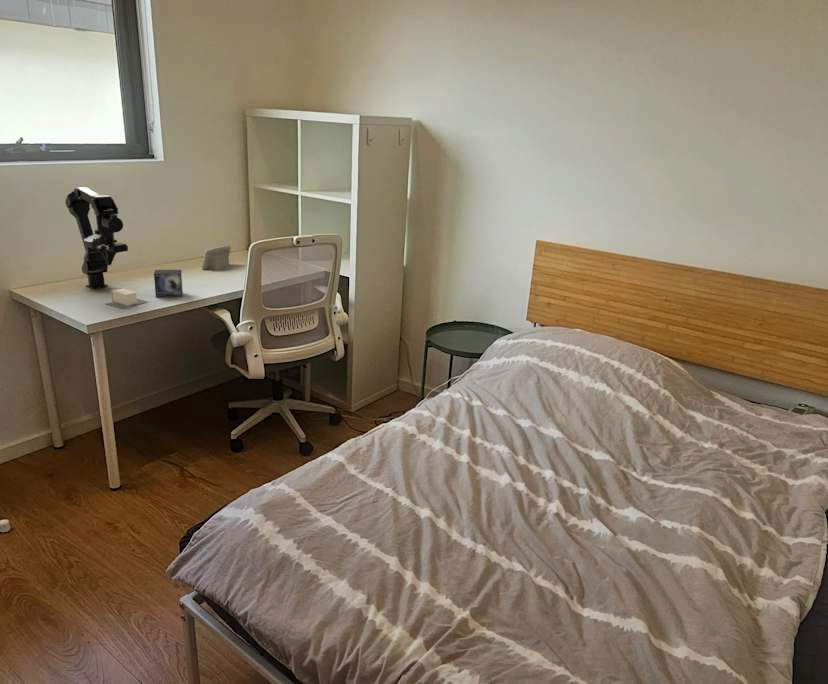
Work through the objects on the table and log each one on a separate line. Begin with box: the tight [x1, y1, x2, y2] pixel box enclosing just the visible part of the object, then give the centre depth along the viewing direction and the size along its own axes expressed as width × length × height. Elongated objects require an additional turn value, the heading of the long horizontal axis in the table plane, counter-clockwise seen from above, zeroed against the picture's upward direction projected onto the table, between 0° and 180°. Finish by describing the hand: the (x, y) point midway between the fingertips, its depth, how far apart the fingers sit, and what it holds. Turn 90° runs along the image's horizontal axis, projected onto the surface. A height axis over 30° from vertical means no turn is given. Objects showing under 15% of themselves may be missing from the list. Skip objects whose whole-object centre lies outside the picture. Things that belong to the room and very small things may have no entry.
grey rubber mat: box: [105, 298, 148, 310], centre depth 245 cm, size 10×12×1 cm
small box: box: [153, 269, 184, 298], centre depth 257 cm, size 11×6×10 cm, turn 106°
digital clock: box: [201, 245, 231, 272], centre depth 304 cm, size 16×9×11 cm, turn 140°
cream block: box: [111, 287, 138, 306], centre depth 245 cm, size 4×4×9 cm
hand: (109, 265), depth 250 cm, fingers closed
